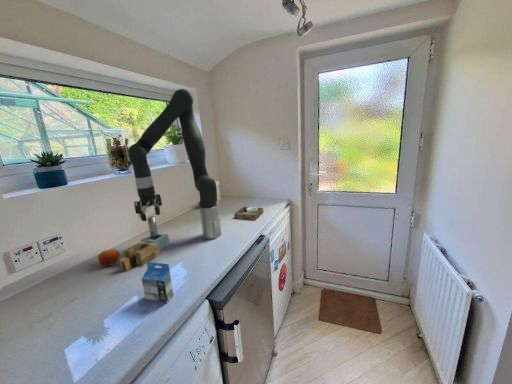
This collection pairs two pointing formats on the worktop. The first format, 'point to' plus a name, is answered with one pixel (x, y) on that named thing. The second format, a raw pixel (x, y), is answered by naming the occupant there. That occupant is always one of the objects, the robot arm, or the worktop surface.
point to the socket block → (143, 252)
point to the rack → (158, 240)
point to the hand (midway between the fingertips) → (151, 217)
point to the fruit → (108, 257)
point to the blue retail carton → (157, 282)
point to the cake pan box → (218, 192)
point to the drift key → (128, 262)
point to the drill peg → (153, 227)
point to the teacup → (251, 210)
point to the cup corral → (248, 216)
